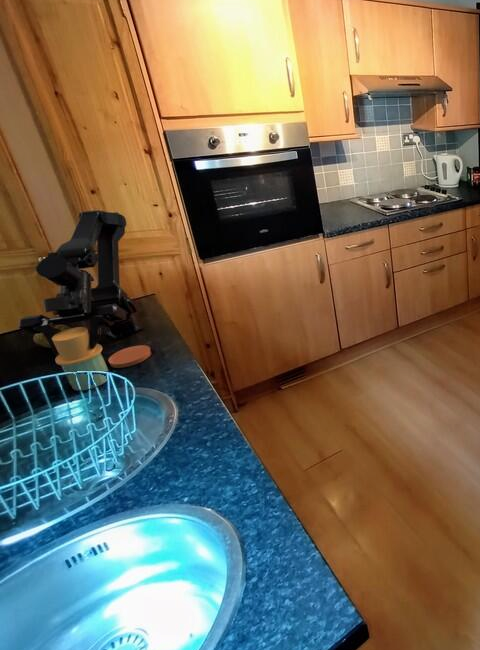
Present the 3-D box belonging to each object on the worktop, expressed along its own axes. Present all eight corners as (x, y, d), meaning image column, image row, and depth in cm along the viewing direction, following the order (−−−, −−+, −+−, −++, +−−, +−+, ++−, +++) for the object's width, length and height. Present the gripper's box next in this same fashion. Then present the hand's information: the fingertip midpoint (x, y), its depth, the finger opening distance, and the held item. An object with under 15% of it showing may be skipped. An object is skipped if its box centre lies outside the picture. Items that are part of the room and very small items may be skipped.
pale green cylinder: (67, 385, 113) (54, 358, 110) (102, 369, 119) (90, 344, 115) (80, 394, 110) (67, 367, 106) (116, 377, 116) (104, 351, 112)
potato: (75, 334, 134) (64, 311, 131) (84, 350, 127) (72, 326, 124) (36, 346, 129) (24, 322, 125) (43, 363, 121) (30, 338, 118)
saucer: (103, 362, 122) (101, 358, 121) (140, 345, 129) (139, 342, 129) (120, 371, 118) (118, 367, 118) (158, 354, 125) (156, 350, 125)
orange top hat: (51, 364, 110) (38, 337, 107) (94, 347, 117) (83, 321, 114) (68, 374, 106) (54, 347, 103) (111, 356, 113) (100, 329, 110)
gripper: (4, 287, 103) (-1, 353, 99) (105, 274, 110) (105, 335, 105) (35, 303, 113) (32, 363, 108) (126, 290, 120) (127, 346, 115)
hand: (74, 351), depth 109 cm, fingers closed on orange top hat, 6 cm apart
